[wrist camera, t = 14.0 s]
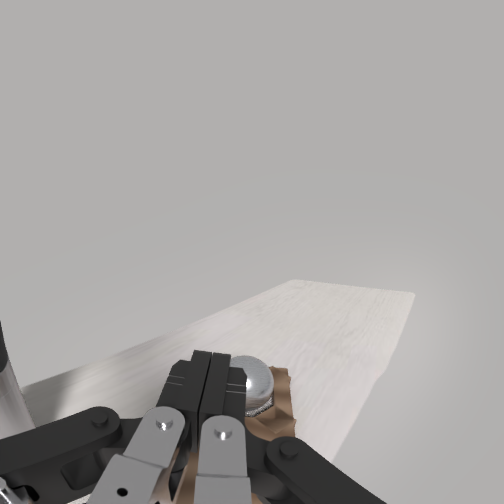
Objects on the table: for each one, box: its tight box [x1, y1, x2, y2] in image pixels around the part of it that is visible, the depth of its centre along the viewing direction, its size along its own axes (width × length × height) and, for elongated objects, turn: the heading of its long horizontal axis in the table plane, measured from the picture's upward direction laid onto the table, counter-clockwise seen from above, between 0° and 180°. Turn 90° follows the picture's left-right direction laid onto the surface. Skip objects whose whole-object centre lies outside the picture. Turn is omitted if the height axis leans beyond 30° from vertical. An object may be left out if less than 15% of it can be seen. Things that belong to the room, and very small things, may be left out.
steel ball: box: [230, 356, 274, 412], centre depth 50 cm, size 10×10×10 cm
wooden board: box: [175, 366, 296, 504], centre depth 44 cm, size 34×19×2 cm, turn 178°
